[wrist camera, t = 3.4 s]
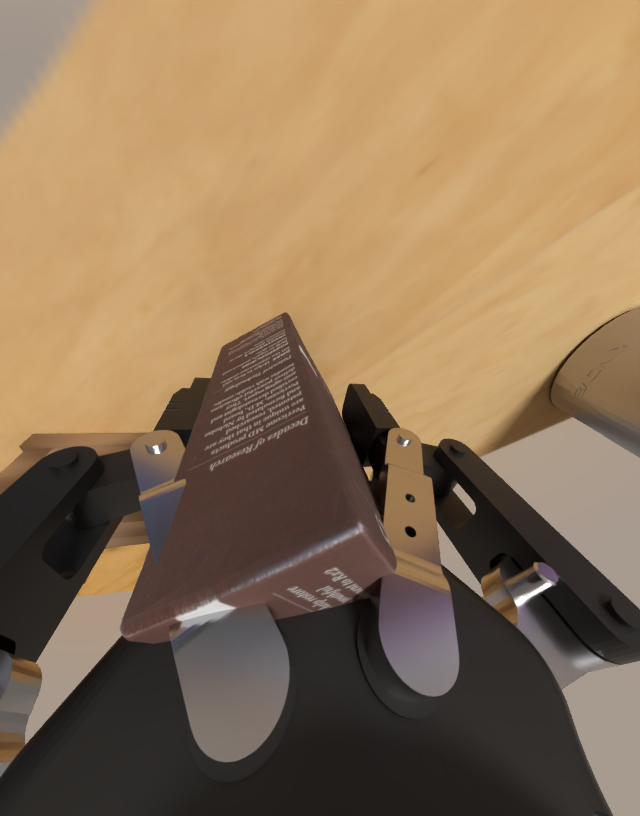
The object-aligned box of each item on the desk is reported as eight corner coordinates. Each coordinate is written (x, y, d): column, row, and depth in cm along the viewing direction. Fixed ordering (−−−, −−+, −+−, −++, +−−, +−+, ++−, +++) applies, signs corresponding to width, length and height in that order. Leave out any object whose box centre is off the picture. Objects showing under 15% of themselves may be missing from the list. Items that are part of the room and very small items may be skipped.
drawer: (222, 432, 16) (202, 523, 11) (231, 511, 22) (221, 597, 17) (32, 434, 14) (-101, 551, 9) (97, 523, 20) (37, 627, 14)
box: (334, 388, 16) (434, 618, 7) (275, 416, 17) (288, 668, 7) (291, 302, 12) (376, 542, 3) (217, 342, 13) (82, 659, 3)
